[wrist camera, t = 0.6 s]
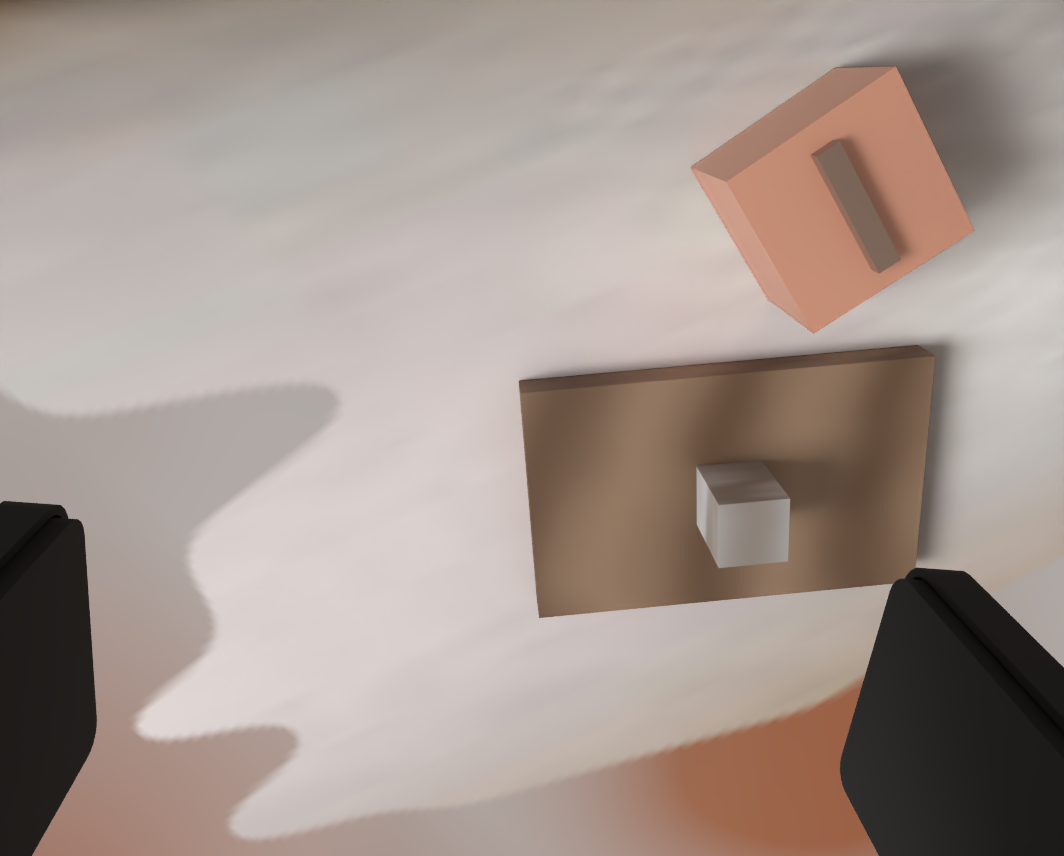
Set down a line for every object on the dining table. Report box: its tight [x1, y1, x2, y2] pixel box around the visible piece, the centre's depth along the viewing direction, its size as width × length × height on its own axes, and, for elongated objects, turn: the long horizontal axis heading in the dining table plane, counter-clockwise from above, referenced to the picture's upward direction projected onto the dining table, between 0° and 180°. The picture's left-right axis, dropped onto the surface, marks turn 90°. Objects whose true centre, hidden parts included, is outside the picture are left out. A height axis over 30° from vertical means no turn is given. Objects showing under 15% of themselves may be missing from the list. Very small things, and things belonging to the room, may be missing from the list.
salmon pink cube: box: [690, 66, 975, 334], centre depth 31 cm, size 6×6×6 cm
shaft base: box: [519, 345, 935, 618], centre depth 35 cm, size 16×10×5 cm, turn 94°
